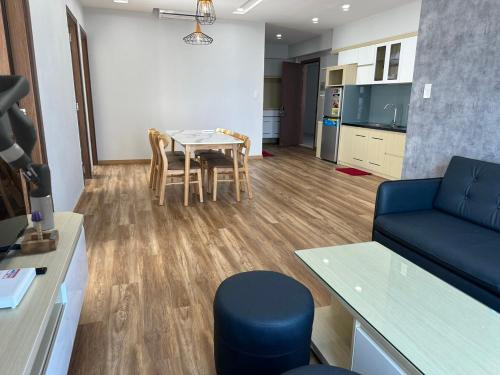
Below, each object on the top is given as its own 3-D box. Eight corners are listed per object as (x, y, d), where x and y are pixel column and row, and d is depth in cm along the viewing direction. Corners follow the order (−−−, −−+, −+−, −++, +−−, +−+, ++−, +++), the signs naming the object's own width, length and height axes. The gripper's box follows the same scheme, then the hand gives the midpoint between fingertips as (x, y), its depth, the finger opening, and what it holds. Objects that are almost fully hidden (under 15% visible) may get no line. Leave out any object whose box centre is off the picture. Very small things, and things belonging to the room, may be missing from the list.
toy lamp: (42, 248, 156) (38, 213, 152) (32, 248, 156) (27, 212, 152) (48, 244, 161) (44, 209, 157) (38, 244, 161) (34, 209, 156)
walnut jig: (21, 254, 150) (20, 243, 149) (27, 242, 162) (26, 232, 161) (56, 250, 155) (54, 239, 154) (59, 239, 167) (58, 229, 165)
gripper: (27, 155, 138) (52, 185, 148) (19, 145, 147) (44, 174, 158) (8, 166, 135) (36, 196, 145) (2, 155, 144) (28, 184, 155)
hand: (40, 185), depth 151 cm, fingers open, 8 cm apart
